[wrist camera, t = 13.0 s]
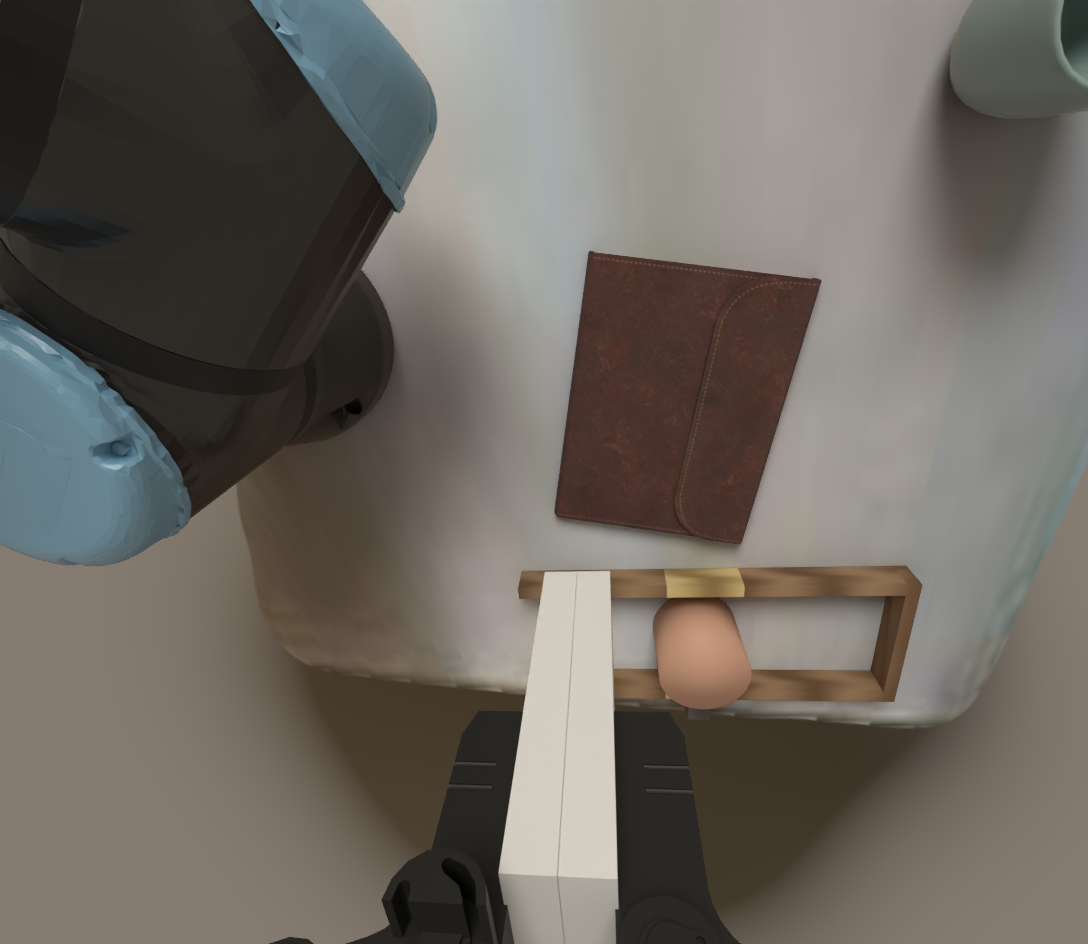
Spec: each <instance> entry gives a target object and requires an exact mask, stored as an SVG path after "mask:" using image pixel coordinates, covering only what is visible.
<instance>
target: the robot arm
mask: <svg viewBox="0 0 1088 944" xmlns="http://www.w3.org/2000/svg"><path fill="white" fill-rule="evenodd" d="M436 125H437V107H436V103H435V98H434V95H433V92H432V89H431V86H430V84H429V82H428V81H427V79H426V77H425V75H424V74H423V72H422V71H421V69H420V68H419V67H418V66H417V64H416V63H415V62H414V61H413V59H412V58H411V57H410V56H409V54H408V53H407V52H406V51H405V49H404V48H403V47H402V46H401V44H400V43H399V42H398V41H397V40H396V39H395V37H394V36H393V35H392V34H391V33H390V32H389V30H388V29H387V28H386V27H385V26H384V25H383V23H382V22H381V21H380V20H379V19H378V18H377V17H376V15H375V14H374V13H373V12H372V11H371V10H370V9H369V7H368V6H367V5H366V4H365V3H364V2H363V1H362V0H0V544H1V545H3V546H5V547H7V548H9V549H12V550H14V551H16V552H19V553H22V554H24V555H27V556H29V557H32V558H36V559H39V560H43V561H46V562H51V563H55V564H61V565H79V564H82V565H86V566H103V565H110V564H114V563H118V562H121V561H124V560H127V559H129V558H131V557H133V556H135V555H137V554H139V553H141V552H142V551H144V550H145V549H147V548H148V547H150V546H151V545H153V544H154V543H156V542H158V541H160V540H161V539H163V538H168V537H169V536H174V535H175V534H177V533H178V532H179V531H180V530H181V529H182V528H184V527H185V525H187V523H188V521H189V519H190V518H191V517H193V516H194V515H195V514H197V513H198V512H199V511H201V510H202V509H203V508H205V507H206V506H207V505H208V504H210V503H211V502H212V501H214V500H215V499H216V498H218V497H219V496H220V495H222V494H223V493H224V492H226V491H227V490H228V489H229V488H231V487H232V486H233V485H235V484H236V483H237V482H239V481H240V480H241V479H243V478H244V477H245V476H246V475H248V474H249V473H250V472H252V471H253V470H254V469H256V468H257V467H258V466H260V465H261V464H262V463H264V462H265V461H266V460H267V459H269V458H270V457H271V456H273V455H274V454H275V453H277V452H278V451H279V450H281V449H282V448H283V447H284V446H290V445H296V444H303V443H310V442H316V441H321V440H325V439H328V438H331V437H333V436H336V435H338V434H340V433H342V432H344V431H346V430H347V429H349V428H350V427H352V426H353V425H354V424H356V423H357V422H358V421H359V420H360V419H362V418H363V417H364V416H365V415H366V414H367V413H368V412H369V411H370V410H371V409H372V408H373V407H374V406H375V405H376V403H377V402H378V401H379V399H380V397H381V396H382V394H383V392H384V390H385V388H386V386H387V383H388V380H389V377H390V373H391V369H392V362H393V340H392V333H391V328H390V323H389V320H388V316H387V313H386V311H385V308H384V306H383V303H382V301H381V299H380V297H379V295H378V293H377V291H376V290H375V288H374V287H373V285H372V283H371V282H370V281H369V279H368V278H367V276H366V275H365V274H364V273H363V271H362V270H361V268H362V266H363V265H364V263H365V261H366V259H367V258H368V256H369V254H370V252H371V251H372V249H373V247H374V246H375V244H376V242H377V240H378V239H379V237H380V235H381V233H382V232H383V230H384V228H385V227H386V225H387V223H388V221H389V220H390V218H391V216H392V215H393V213H394V211H395V212H397V213H400V212H401V211H402V209H403V207H404V204H405V201H404V194H405V192H406V190H407V188H408V186H409V185H410V183H411V181H412V179H413V177H414V175H415V173H416V171H417V169H418V167H419V165H420V163H421V161H422V160H423V158H424V156H425V154H426V152H427V150H428V148H429V146H430V144H431V142H432V140H433V138H434V134H435V130H436ZM614 707H615V705H614V668H613V639H612V612H611V585H610V571H575V572H545V574H544V581H543V587H542V594H541V600H540V607H539V613H538V620H537V626H536V633H535V639H534V645H533V652H532V658H531V665H530V671H529V678H528V684H527V691H526V698H525V704H524V710H523V712H514V711H513V712H512V711H479V712H478V713H477V714H476V716H475V717H474V718H473V720H472V721H471V723H470V724H469V725H468V727H467V728H466V729H465V731H464V732H463V733H462V736H461V740H460V744H459V748H458V751H457V755H456V759H455V766H454V767H453V771H452V774H451V778H450V782H449V789H447V793H446V797H445V801H444V804H443V808H442V812H441V816H440V820H439V824H438V827H437V831H436V835H435V839H434V842H433V846H432V850H428V851H426V852H424V853H422V854H420V855H418V856H417V857H415V858H413V859H411V860H409V861H408V862H407V863H406V864H405V865H404V866H403V867H402V868H401V869H400V870H399V871H398V872H397V874H396V875H395V876H394V877H393V878H392V879H391V881H390V883H389V886H388V888H387V890H386V892H385V894H384V896H383V898H382V903H383V906H384V909H385V912H386V915H387V918H388V921H389V923H390V925H389V926H387V927H386V928H385V929H383V930H381V931H379V932H377V933H374V934H372V935H370V936H368V937H365V938H362V939H359V940H356V941H353V942H350V943H347V944H741V943H739V942H738V941H737V940H736V939H735V938H734V937H733V936H732V935H731V933H730V932H729V931H728V930H727V928H726V927H725V926H724V925H723V923H722V922H721V920H720V918H719V916H718V914H717V912H716V910H715V908H714V906H713V904H712V900H711V897H710V893H709V889H708V885H707V878H706V871H705V865H704V858H703V852H702V846H701V840H700V833H699V827H698V821H697V815H696V808H695V801H694V796H693V789H692V783H691V776H690V771H689V763H688V757H687V750H686V744H685V738H684V735H683V734H682V732H681V731H680V729H679V727H678V726H677V724H676V723H675V721H674V720H673V718H672V716H671V715H670V713H669V712H620V711H619V712H617V711H615V708H614ZM270 944H313V943H312V942H311V941H310V940H308V939H302V938H294V937H288V938H286V939H282V940H279V941H276V942H273V943H270Z"/></svg>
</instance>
